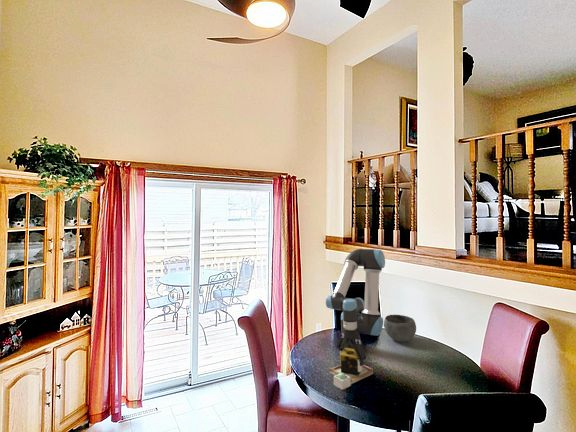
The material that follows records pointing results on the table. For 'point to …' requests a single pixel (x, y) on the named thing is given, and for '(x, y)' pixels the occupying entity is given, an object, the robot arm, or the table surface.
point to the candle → (349, 361)
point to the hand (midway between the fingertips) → (350, 366)
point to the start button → (341, 376)
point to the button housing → (342, 382)
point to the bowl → (400, 327)
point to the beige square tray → (353, 378)
